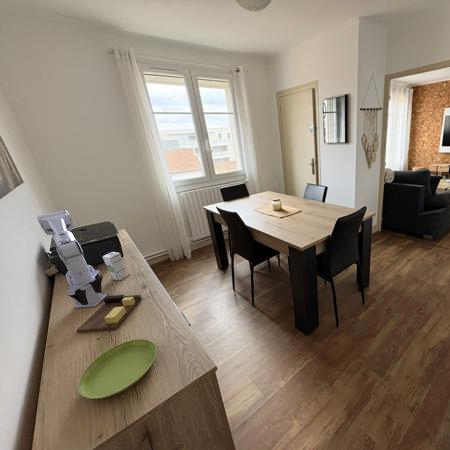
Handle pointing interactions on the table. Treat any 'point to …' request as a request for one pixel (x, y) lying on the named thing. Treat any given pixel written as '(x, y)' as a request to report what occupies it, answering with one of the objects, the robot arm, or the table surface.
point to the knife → (120, 298)
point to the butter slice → (128, 301)
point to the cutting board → (98, 318)
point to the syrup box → (115, 266)
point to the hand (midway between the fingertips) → (92, 298)
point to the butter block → (115, 315)
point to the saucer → (117, 369)
